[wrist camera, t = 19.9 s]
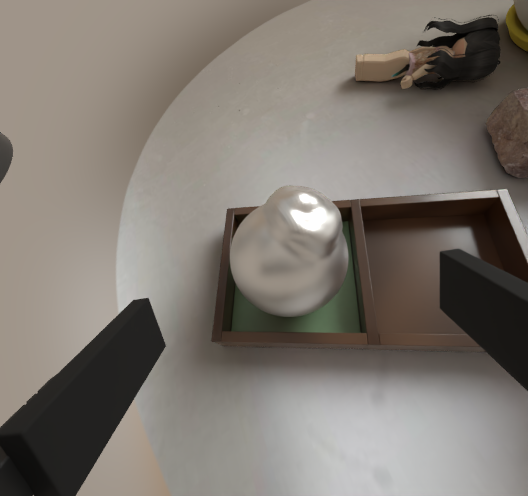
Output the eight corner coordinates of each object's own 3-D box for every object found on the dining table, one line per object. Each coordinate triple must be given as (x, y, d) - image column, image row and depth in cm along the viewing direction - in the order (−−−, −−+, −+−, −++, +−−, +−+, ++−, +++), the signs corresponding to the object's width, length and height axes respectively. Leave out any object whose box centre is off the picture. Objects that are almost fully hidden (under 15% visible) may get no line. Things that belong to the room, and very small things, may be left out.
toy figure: (358, 108, 34) (498, 87, 30) (362, 51, 29) (531, 18, 25) (353, 79, 38) (477, 58, 34) (356, 24, 33) (502, -7, 29)
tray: (223, 346, 24) (211, 341, 21) (235, 224, 29) (226, 208, 26) (541, 353, 19) (578, 348, 17) (486, 209, 25) (507, 188, 22)
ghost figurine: (370, 294, 23) (404, 238, 14) (269, 345, 22) (237, 321, 13) (317, 215, 27) (316, 134, 18) (231, 257, 26) (188, 195, 18)
